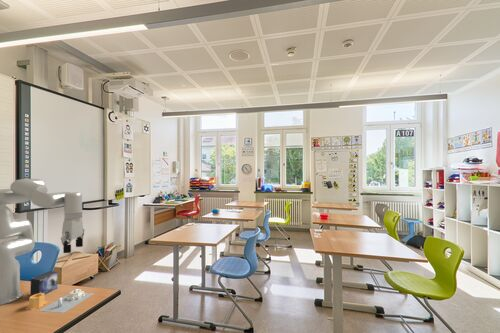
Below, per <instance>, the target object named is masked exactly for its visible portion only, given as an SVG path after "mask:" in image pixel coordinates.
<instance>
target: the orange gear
mask: <svg viewBox="0 0 500 333" xmlns="http://www.w3.org/2000/svg"><path fill="white" fill-rule="evenodd" d="M29 296H30V295H29ZM46 305H48V300H45V295H44V293H38V294H35V295H32V296H30V297H29V304H28V305H27V306H26V308H25V310H26V311H27V310H29V311H34V309H42V307H43V306H46Z"/></svg>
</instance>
